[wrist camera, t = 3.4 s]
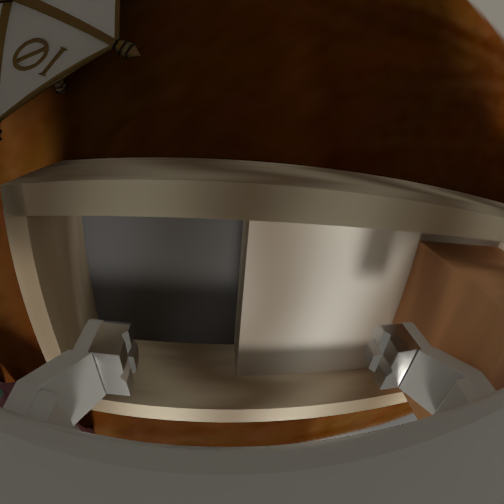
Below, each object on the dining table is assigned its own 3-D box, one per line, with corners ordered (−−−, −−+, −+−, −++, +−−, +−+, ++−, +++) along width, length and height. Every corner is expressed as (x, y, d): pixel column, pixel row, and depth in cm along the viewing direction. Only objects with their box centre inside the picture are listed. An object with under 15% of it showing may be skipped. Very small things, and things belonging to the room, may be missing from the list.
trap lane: (95, 357, 15) (69, 429, 10) (61, 138, 10) (-18, 158, 6) (546, 321, 20) (572, 348, 16) (583, 220, 16) (617, 241, 11)
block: (379, 352, 14) (432, 447, 8) (419, 240, 11) (518, 325, 6) (459, 340, 14) (513, 409, 9) (498, 247, 12) (576, 306, 6)
